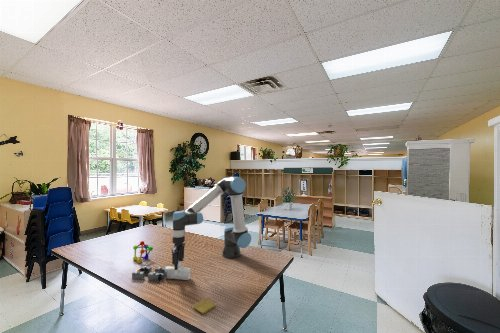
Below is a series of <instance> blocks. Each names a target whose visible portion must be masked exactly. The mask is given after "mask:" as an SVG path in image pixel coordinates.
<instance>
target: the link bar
mask: <svg viewBox="0 0 500 333" xmlns="http://www.w3.org/2000/svg"><path fill="white" fill-rule="evenodd" d="M164 268H165V276H164V279H170V280H171V279H173V280H180V281H181V280H182V281H184V280H185V281H189V280H190V279H191V275H192V273H191V272H192V271H191V270H192V268H191V267H183V266H182V267H179V275H174V265H172V266H171V265H167V266H166V267H164Z"/></svg>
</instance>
